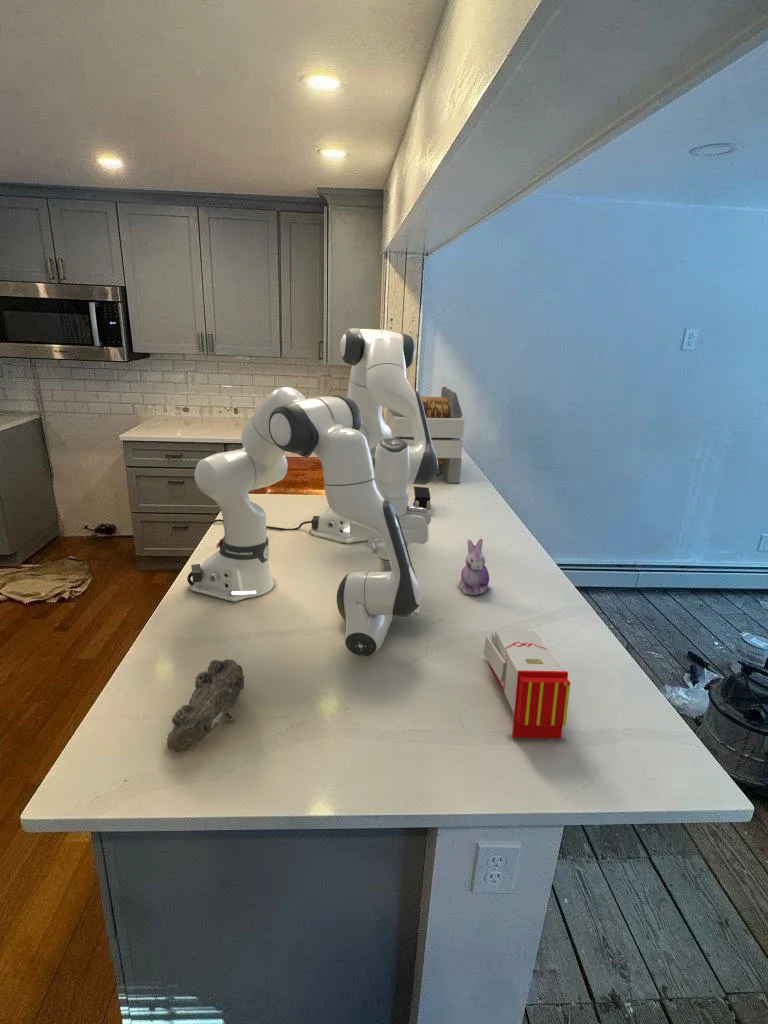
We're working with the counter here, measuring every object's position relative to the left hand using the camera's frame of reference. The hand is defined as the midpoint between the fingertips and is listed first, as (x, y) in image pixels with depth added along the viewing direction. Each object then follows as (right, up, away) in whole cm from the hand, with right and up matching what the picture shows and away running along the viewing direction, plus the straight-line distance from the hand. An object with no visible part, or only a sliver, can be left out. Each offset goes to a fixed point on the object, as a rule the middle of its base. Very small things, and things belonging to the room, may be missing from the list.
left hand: (386, 585), depth 151 cm
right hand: (0, +8, -4) cm, 9 cm away
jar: (0, -5, +1) cm, 6 cm away
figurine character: (+14, +20, +74) cm, 79 cm away
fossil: (-34, -20, -43) cm, 58 cm away
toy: (+27, -18, -32) cm, 46 cm away
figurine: (+25, -3, +12) cm, 28 cm away
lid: (0, +10, -5) cm, 11 cm away
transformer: (+16, +38, +124) cm, 131 cm away
